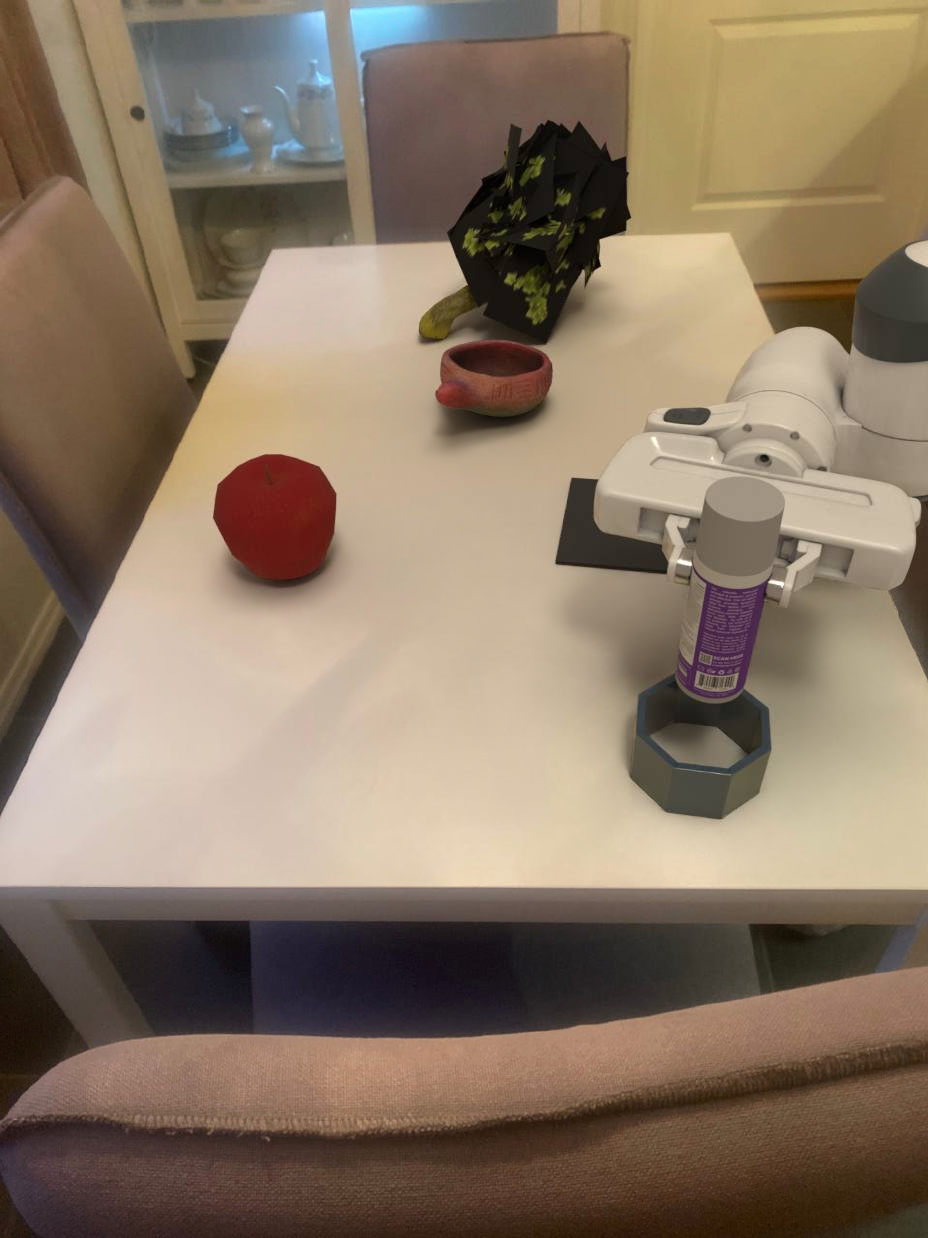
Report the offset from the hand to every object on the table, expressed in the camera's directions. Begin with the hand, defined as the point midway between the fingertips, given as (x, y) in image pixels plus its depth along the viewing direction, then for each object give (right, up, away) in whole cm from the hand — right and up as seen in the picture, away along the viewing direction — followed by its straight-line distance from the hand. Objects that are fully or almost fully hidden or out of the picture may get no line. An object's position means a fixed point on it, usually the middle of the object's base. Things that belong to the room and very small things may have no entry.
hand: (726, 586), depth 56 cm
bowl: (-12, +21, +51) cm, 56 cm away
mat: (+5, +7, +33) cm, 34 cm away
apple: (-33, +3, +32) cm, 46 cm away
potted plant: (-9, +39, +70) cm, 80 cm away
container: (+1, -6, +7) cm, 9 cm away
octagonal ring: (+1, -13, +12) cm, 18 cm away
